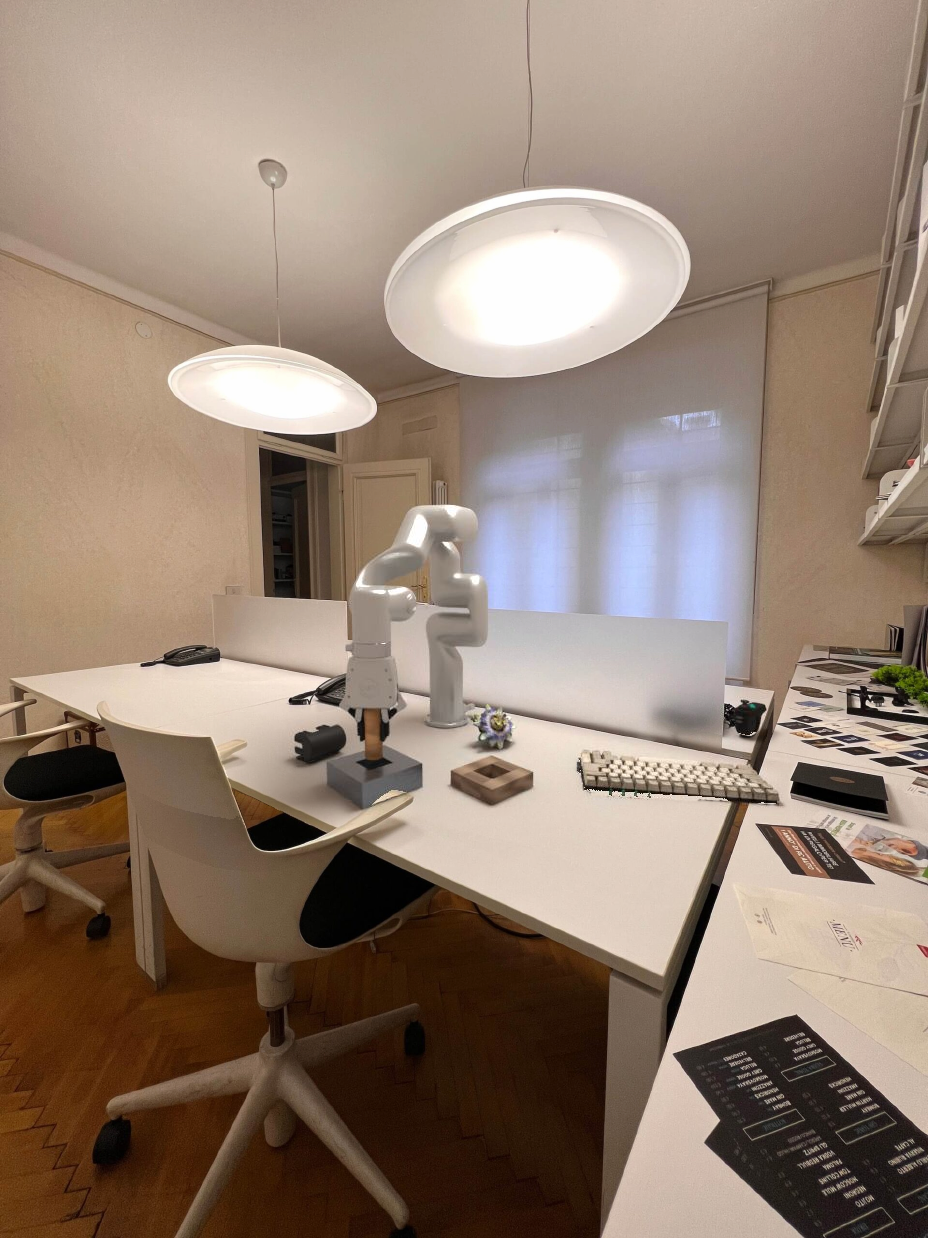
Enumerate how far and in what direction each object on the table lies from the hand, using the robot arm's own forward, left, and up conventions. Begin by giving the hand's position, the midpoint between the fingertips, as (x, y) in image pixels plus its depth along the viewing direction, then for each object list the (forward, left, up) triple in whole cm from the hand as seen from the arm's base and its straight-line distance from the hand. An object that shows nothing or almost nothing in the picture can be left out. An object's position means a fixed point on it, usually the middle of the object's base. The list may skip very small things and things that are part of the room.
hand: (373, 738), depth 102 cm
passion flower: (-35, -1, -10) cm, 37 cm away
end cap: (+1, -22, -10) cm, 24 cm away
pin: (0, 0, -4) cm, 4 cm away
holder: (-18, +16, -10) cm, 26 cm away
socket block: (0, 0, -10) cm, 10 cm away
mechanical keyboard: (-47, +39, -11) cm, 63 cm away
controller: (-90, +41, -10) cm, 99 cm away
